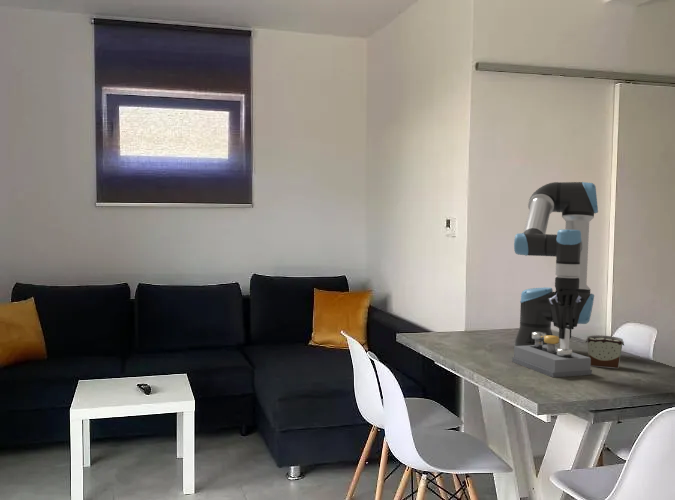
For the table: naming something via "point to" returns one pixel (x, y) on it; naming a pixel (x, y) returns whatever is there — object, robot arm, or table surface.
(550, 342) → the yellow round knob
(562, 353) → the knob
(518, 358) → the mount
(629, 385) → the table surface
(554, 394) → the table surface
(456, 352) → the table surface
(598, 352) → the food container
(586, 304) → the robot arm
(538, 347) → the knob
